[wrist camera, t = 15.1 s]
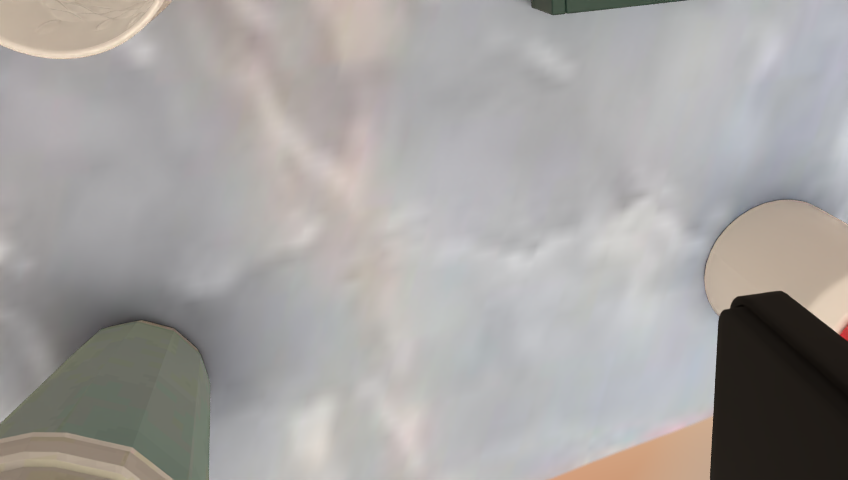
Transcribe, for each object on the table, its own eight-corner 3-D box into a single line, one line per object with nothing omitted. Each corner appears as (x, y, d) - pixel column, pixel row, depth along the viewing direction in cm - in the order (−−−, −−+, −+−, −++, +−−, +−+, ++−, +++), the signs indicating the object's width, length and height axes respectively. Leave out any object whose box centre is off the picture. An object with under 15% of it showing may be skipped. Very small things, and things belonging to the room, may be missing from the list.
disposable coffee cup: (244, 459, 43) (208, 710, 29) (35, 460, 42) (-107, 726, 28) (244, 281, 39) (203, 473, 26) (14, 275, 38) (-163, 477, 24)
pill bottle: (801, 343, 45) (942, 464, 35) (681, 314, 43) (792, 432, 33) (865, 219, 42) (1037, 310, 32) (740, 183, 41) (881, 267, 31)
